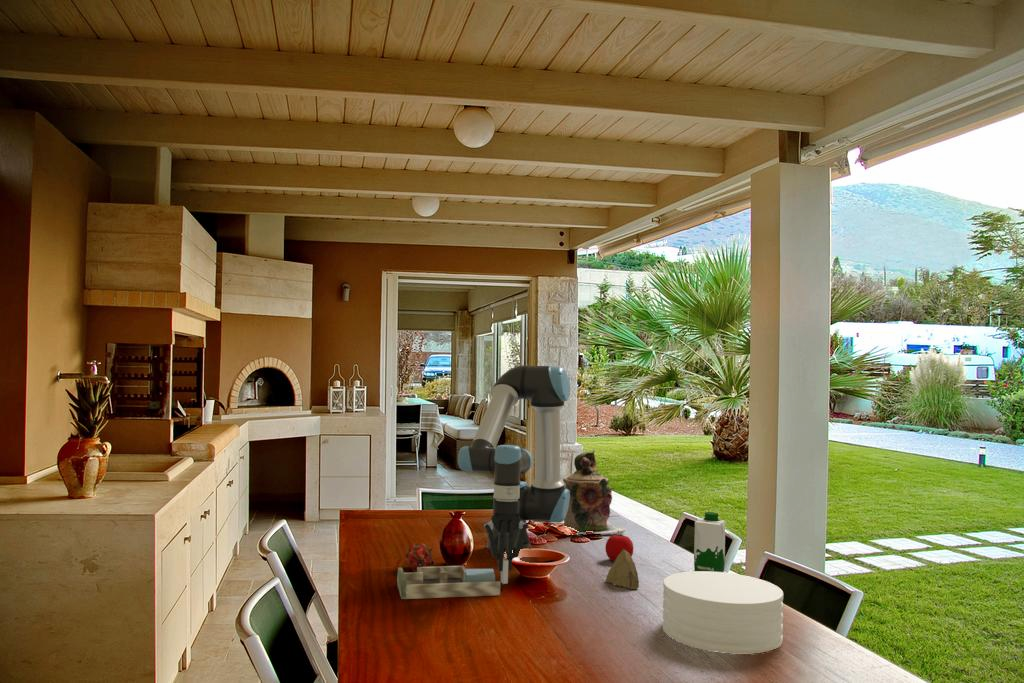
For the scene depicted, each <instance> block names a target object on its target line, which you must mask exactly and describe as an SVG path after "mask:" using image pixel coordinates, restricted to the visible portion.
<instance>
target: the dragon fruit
mask: <svg viewBox="0 0 1024 683" xmlns="http://www.w3.org/2000/svg"><path fill="white" fill-rule="evenodd" d="M432 550H433V549H432V548H431V547H430V546H427V544H425V543H419V542H418V543H414V544H413V546H410V547H408V549H407V551H406V555H405V562H406V566H407V567H408V568H410V569H411V571H412V572H417V567H431V566H434V564H435V560H434V558H433V557H434V554H433V553H432Z"/></svg>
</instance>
